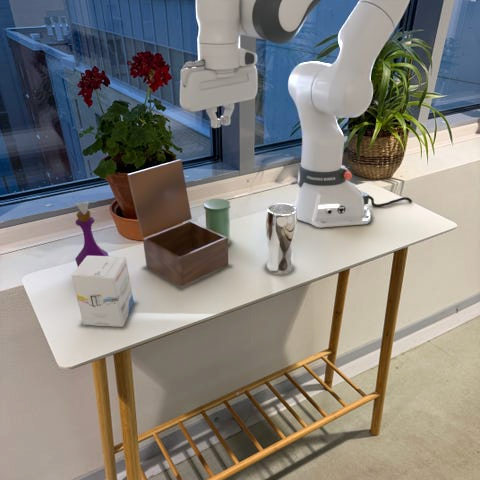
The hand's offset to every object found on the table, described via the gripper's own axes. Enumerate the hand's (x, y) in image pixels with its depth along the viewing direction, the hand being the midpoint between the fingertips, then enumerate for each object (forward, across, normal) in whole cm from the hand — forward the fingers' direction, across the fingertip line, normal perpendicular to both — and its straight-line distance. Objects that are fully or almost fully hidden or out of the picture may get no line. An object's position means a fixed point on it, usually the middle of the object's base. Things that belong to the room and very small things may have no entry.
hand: (220, 125), depth 110 cm
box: (+29, -15, -4) cm, 33 cm away
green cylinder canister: (+29, -2, 0) cm, 29 cm away
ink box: (+29, -40, -8) cm, 50 cm away
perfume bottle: (+29, -33, +8) cm, 45 cm away
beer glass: (+29, 0, -20) cm, 35 cm away
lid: (+14, -15, +4) cm, 21 cm away
